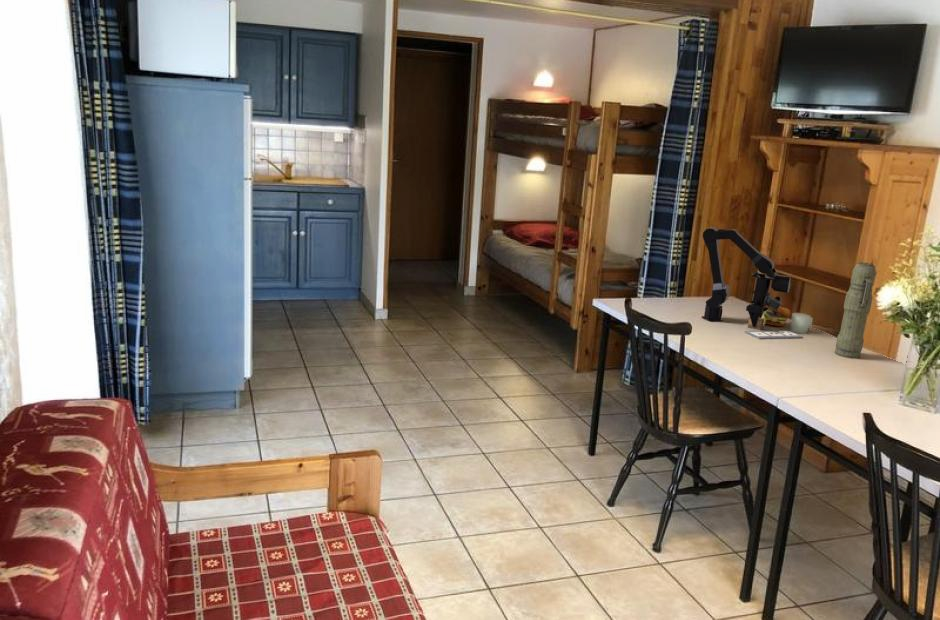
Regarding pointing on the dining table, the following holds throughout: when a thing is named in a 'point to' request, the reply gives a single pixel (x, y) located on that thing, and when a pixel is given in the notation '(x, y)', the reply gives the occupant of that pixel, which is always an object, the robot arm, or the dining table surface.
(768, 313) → the cheeseburger
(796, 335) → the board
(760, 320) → the brown wooden block
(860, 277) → the thermos
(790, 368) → the dining table surface
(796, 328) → the mug
